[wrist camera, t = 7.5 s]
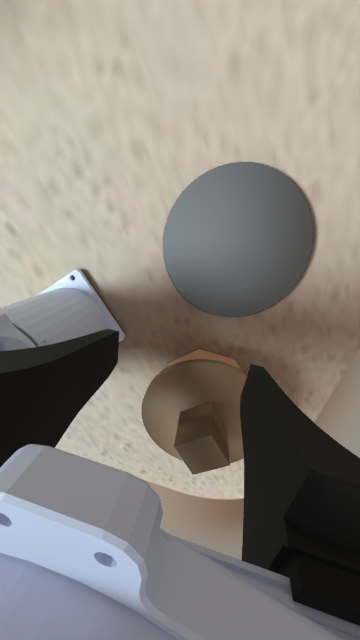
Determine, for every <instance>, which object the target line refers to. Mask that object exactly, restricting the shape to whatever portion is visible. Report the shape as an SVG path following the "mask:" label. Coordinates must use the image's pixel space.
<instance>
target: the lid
mask: <svg viewBox="0 0 360 640" xmlns="http://www.w3.org/2000/svg"><path fill="white" fill-rule="evenodd" d="M247 375H248V374H246V373H245V372H243V371H242V370H240V369H238V368H236V367H235V366H232V365H230V364H227V363H224V362H221V361H217V360H210V359H192V360H186V361H182V362H179V363H176V364H173V365H171V366H169V367H167V368H166V369H164V370H163V371H161V372H160V373H159V374H158V375H157V376H156V377H155V378H154V379H153V380H152V382H151V383H150V385H149V387H148V389H147V391H146V393H145V396H144V399H143V403H142V419H143V423H144V426H145V428H146V430H147V432H148V434H149V435H150V437H151V438H152V439H153V441H154V442H155V443H156V444H157V445H158V446H159V447H160V448H162V449H163V450H164V451H165V452H167V453H168V454H170V455H172V456H174V457H176V458H178V459H180V460H183V461H184V462H185V464H186V465H187V467H188V468H189V470H190V471H191V473H192V474H197V473H201V472H205V471H209V470H213V469H217V468H221V467H225V466H229V465H230V463H233V462H236V461H239V460H241V459H243V458H244V452H243V442H242V432H241V421H240V397H241V393H242V390H243V387H244V384H245V381H246V378H247Z"/></svg>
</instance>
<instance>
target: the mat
mask: <svg viewBox="0 0 360 640" xmlns="http://www.w3.org/2000/svg"><path fill="white" fill-rule="evenodd" d="M313 238H314V231H313V221H312V215H311V212H310V209H309V206H308V204H307V201H306V199H305V197H304V195H303V194H302V193H301V191H300V190H299V188H298V187H297V186H296V185H295V184H294V183H293V182H292V180H291V179H289V178H288V177H287V176H285V175H284V174H283V173H281V172H279V171H278V170H276V169H274V168H272V167H269V166H266V165H263V164H258V163H253V162H237V163H229V164H226V165H222V166H219V167H216V168H214V169H212V170H209V171H208V172H206V173H204V174H203V175H201V176H199V177H198V178H197V179H196V180H194V181H193V182H192V183H191V184H190V185H189V186H188V187H187V188H186V189H185V190H184V191H183V192H182V193H181V195H180V196H179V197H178V199H177V200H176V202H175V204H174V205H173V207H172V209H171V211H170V214H169V216H168V218H167V222H166V226H165V230H164V236H163V255H164V261H165V266H166V269H167V272H168V274H169V277H170V279H171V281H172V283H173V284H174V286H175V287H176V289H177V290H178V291H179V293H180V294H181V295H182V296H183V297H184V298H185V299H186V300H187V301H188V302H190V303H191V304H193V305H194V306H195V307H197V308H199V309H201V310H203V311H205V312H208V313H211V314H214V315H218V316H225V317H240V316H247V315H251V314H255V313H258V312H260V311H263V310H265V309H267V308H269V307H271V306H272V305H274V304H275V303H277V302H278V301H280V300H281V299H282V298H283V297H285V296H286V295H287V294H288V293H289V292H290V291H291V290H292V289H293V287H294V286H295V285H296V284H297V282H298V281H299V279H300V278H301V276H302V274H303V273H304V271H305V269H306V267H307V264H308V262H309V259H310V255H311V251H312V247H313Z"/></svg>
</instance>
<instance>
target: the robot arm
mask: <svg viewBox="0 0 360 640" xmlns="http://www.w3.org/2000/svg"><path fill="white" fill-rule="evenodd" d="M72 275H73V276H74V277H75V280H74V279H73V278H72ZM124 338H125V334H124V332H123V331H122V329H121V328H120V327H119V325H118V324H117V322H116V321H115V319H114V318H113V316H112V315H111V313H110V312H109V310H108V309H107V308H106V306H105V305H104V303H103V302H102V300H101V299H100V297H99V296H98V294H97V293H96V291H95V290H94V288H93V287H92V286H91V284H90V283H89V281H88V280H87V278H86V277H85V275H84V274H83V272H82V271H81V270H79V269H76V270H73V271H72V272H70V273H69V274H67V275H66V276H65V277H63V278H62V279H60V280H59V281H57V282H56V283H54V284H53V285H51V286H50V287H48V288H47V289H45V290H44V291H43V292H41V293H40V294H38V295H37V296H34V297H31V298H28V299H25V300H22V301H20V302H17V303H14V304H11V305H8V306H5V307H2V308H0V640H360V458H359V457H357V456H356V455H354V454H353V453H351V452H350V451H349V450H347V449H346V448H345V447H343V446H342V445H340V444H339V443H338V442H337V441H335V440H334V439H333V438H331V437H330V436H329V435H328V434H327V433H325V432H324V431H323V430H322V429H320V428H319V427H318V426H317V425H316V424H315V423H314V422H313V421H311V420H310V419H309V418H308V417H307V416H306V415H305V414H304V413H303V412H302V411H301V410H300V409H299V408H298V407H297V406H296V405H295V404H294V403H293V402H292V401H291V400H290V399H289V397H288V396H287V395H286V394H285V393H284V392H283V390H282V389H281V388H280V387H279V386H278V384H277V383H276V382H275V381H274V380H273V378H272V377H271V376H270V374H269V373H268V372H267V371H266V370H265V369H264V367H260V366H256V365H252V364H251V366H250V369H249V372H248V375H247V378H246V381H245V384H244V387H243V390H242V393H241V397H240V421H241V432H242V442H243V452H244V520H243V547H242V560H239V559H236V558H233V557H231V556H228V555H225V554H222V553H219V552H216V551H214V550H211V549H208V548H206V547H203V546H200V545H198V544H195V543H192V542H189V541H186V540H184V539H181V538H178V537H175V536H172V535H170V534H169V533H167V532H165V531H164V530H162V529H160V524H161V519H162V514H163V512H162V506H161V501H160V498H159V496H158V495H157V493H156V492H155V491H153V489H152V488H151V487H150V486H149V484H148V483H147V482H145V481H143V480H142V479H140V478H138V477H136V476H134V475H132V474H130V473H128V472H125V471H122V470H119V469H116V468H113V467H110V466H107V465H104V464H101V463H98V462H95V461H92V460H89V459H86V458H83V457H80V456H77V455H74V454H71V453H68V452H65V451H62V450H59V449H56V448H55V446H56V445H57V443H58V442H59V440H60V439H61V437H62V436H63V434H64V433H65V431H66V430H67V428H68V427H69V425H70V424H71V422H72V421H73V419H74V418H75V417H76V415H77V414H78V412H79V411H80V410H81V409H82V407H83V406H84V405H85V404H86V403H87V402H88V400H89V399H90V398H91V397H92V396H93V395H94V393H95V392H96V391H97V390H98V389H99V388H100V386H101V385H102V384H103V383H104V382H105V380H106V379H107V378H108V377H109V375H110V374H111V372H112V371H113V369H114V367H115V366H116V364H117V361H118V346H119V342H120V341H122V340H123V339H124Z"/></svg>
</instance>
